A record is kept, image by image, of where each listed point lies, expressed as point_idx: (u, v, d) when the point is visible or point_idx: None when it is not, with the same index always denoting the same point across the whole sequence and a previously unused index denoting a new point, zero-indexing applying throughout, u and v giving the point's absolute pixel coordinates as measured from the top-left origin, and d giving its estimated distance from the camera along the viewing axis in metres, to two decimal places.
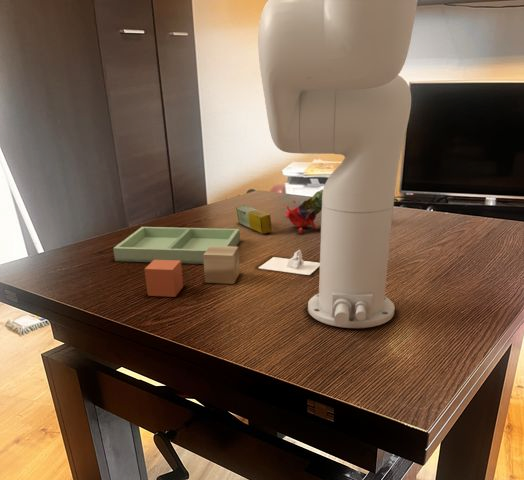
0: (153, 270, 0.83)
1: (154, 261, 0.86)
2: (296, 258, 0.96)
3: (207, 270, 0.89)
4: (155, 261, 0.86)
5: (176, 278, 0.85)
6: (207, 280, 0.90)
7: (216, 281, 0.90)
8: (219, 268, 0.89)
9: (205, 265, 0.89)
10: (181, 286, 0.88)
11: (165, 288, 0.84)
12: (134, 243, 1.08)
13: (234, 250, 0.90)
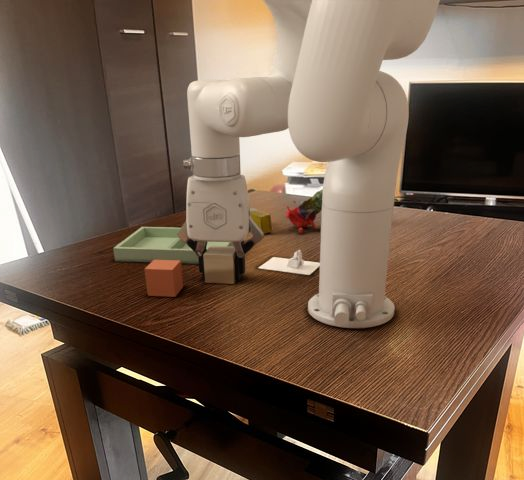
0: (153, 270, 0.83)
1: (154, 261, 0.86)
2: (296, 258, 0.96)
3: (207, 270, 0.89)
4: (155, 261, 0.86)
5: (176, 278, 0.85)
6: (207, 280, 0.90)
7: (216, 281, 0.90)
8: (219, 268, 0.89)
9: (205, 265, 0.89)
10: (181, 286, 0.88)
11: (165, 288, 0.84)
12: (134, 243, 1.08)
13: (234, 250, 0.90)
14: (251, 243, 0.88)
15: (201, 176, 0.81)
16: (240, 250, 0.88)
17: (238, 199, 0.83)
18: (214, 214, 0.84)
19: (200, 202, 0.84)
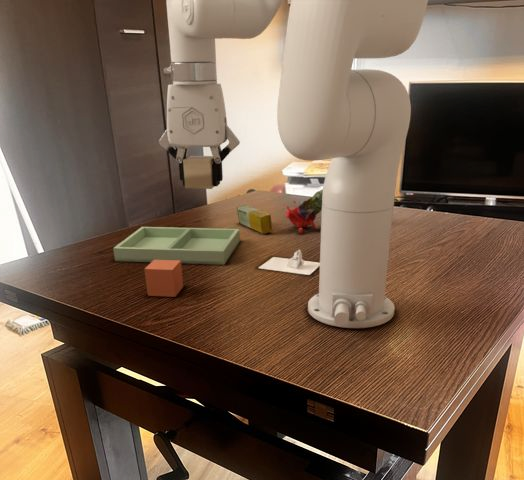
0: (153, 270, 0.83)
1: (154, 261, 0.86)
2: (296, 258, 0.96)
3: (187, 175, 0.96)
4: (155, 261, 0.86)
5: (176, 278, 0.85)
6: (187, 185, 0.97)
7: (195, 186, 0.97)
8: (197, 173, 0.95)
9: (185, 170, 0.96)
10: (181, 286, 0.88)
11: (165, 288, 0.84)
12: (134, 243, 1.08)
13: (212, 157, 0.96)
14: (227, 149, 0.94)
15: (180, 80, 0.88)
16: (217, 156, 0.95)
17: (214, 104, 0.90)
18: (192, 119, 0.91)
19: (179, 107, 0.90)
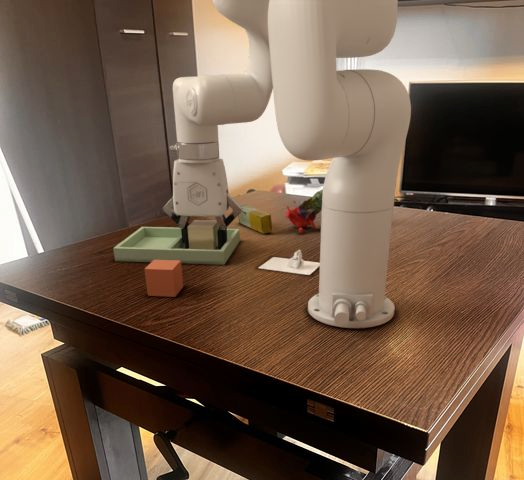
0: (153, 270, 0.83)
1: (154, 261, 0.86)
2: (296, 258, 0.96)
3: (191, 240, 1.03)
4: (155, 261, 0.86)
5: (176, 278, 0.85)
6: None
7: None
8: (201, 238, 1.03)
9: (189, 236, 1.03)
10: (181, 286, 0.88)
11: (165, 288, 0.84)
12: (134, 243, 1.08)
13: (214, 223, 1.03)
14: (232, 217, 1.01)
15: (185, 159, 0.95)
16: (222, 223, 1.02)
17: (216, 179, 0.97)
18: (196, 192, 0.98)
19: (184, 182, 0.98)
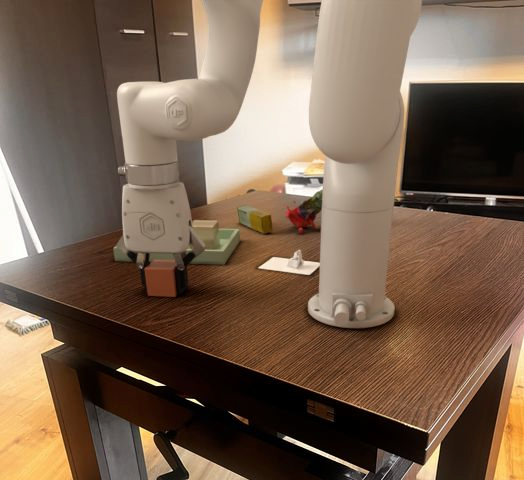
0: (153, 270, 0.83)
1: (154, 261, 0.86)
2: (296, 258, 0.96)
3: None
4: (155, 261, 0.86)
5: None
6: None
7: None
8: (201, 238, 1.03)
9: None
10: None
11: (164, 288, 0.84)
12: None
13: (214, 223, 1.03)
14: (192, 255, 0.83)
15: (135, 184, 0.76)
16: (180, 262, 0.83)
17: (175, 209, 0.78)
18: (151, 224, 0.79)
19: (136, 212, 0.79)
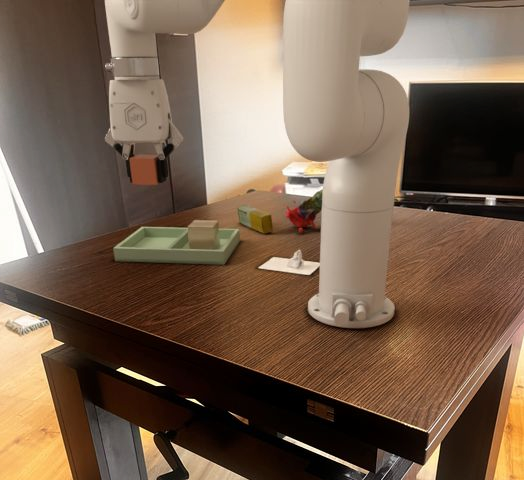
0: (136, 159, 0.94)
1: (138, 155, 0.98)
2: (296, 258, 0.96)
3: (191, 240, 1.03)
4: (139, 155, 0.98)
5: None
6: None
7: None
8: (201, 238, 1.03)
9: (189, 236, 1.03)
10: None
11: (147, 177, 0.96)
12: (134, 243, 1.08)
13: (214, 223, 1.03)
14: (171, 145, 0.94)
15: (120, 76, 0.87)
16: (161, 152, 0.94)
17: (155, 99, 0.89)
18: (134, 115, 0.91)
19: (121, 103, 0.90)
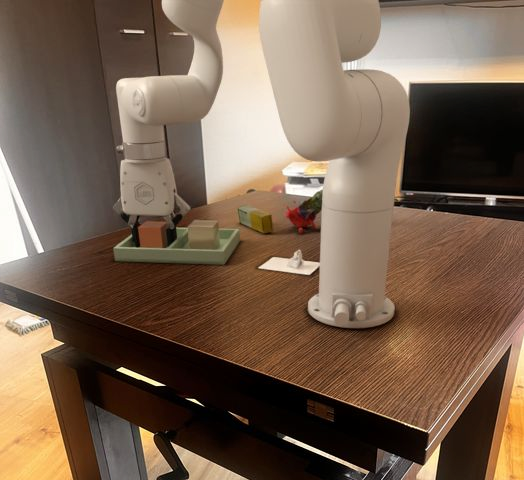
0: (144, 228, 1.03)
1: (146, 222, 1.07)
2: (296, 258, 0.96)
3: (191, 240, 1.03)
4: (147, 222, 1.07)
5: (163, 235, 1.05)
6: None
7: None
8: (201, 238, 1.03)
9: (189, 236, 1.03)
10: None
11: (154, 243, 1.05)
12: (134, 243, 1.08)
13: (214, 223, 1.03)
14: (180, 216, 1.03)
15: (130, 159, 0.97)
16: (170, 222, 1.03)
17: (162, 179, 0.98)
18: (143, 192, 1.00)
19: (131, 181, 0.99)
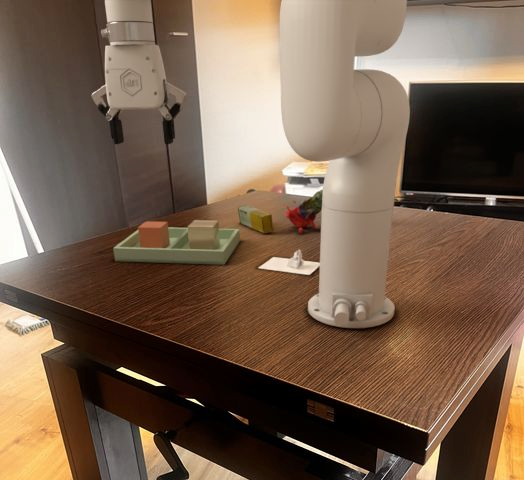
0: (144, 228, 1.03)
1: (146, 222, 1.07)
2: (296, 258, 0.96)
3: (191, 240, 1.03)
4: (147, 222, 1.07)
5: (163, 235, 1.05)
6: None
7: None
8: (201, 238, 1.03)
9: (189, 236, 1.03)
10: (168, 243, 1.08)
11: (154, 243, 1.05)
12: (134, 243, 1.08)
13: (214, 223, 1.03)
14: (177, 104, 0.93)
15: (115, 41, 0.88)
16: (166, 112, 0.94)
17: (151, 64, 0.89)
18: (130, 81, 0.91)
19: (117, 68, 0.90)
